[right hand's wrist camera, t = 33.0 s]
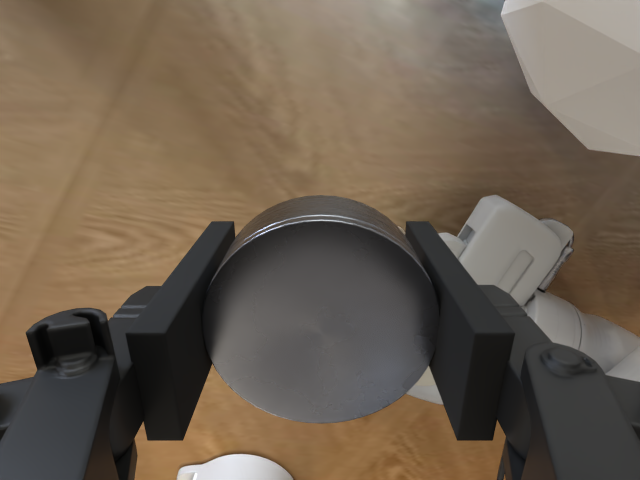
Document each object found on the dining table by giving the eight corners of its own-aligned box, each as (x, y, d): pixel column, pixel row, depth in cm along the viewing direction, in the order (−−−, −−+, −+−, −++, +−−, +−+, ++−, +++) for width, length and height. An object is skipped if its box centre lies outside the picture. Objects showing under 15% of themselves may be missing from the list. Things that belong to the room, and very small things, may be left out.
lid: (353, 398, 13) (359, 452, 11) (189, 322, 12) (164, 369, 10) (461, 257, 12) (490, 293, 10) (278, 154, 10) (269, 171, 8)
